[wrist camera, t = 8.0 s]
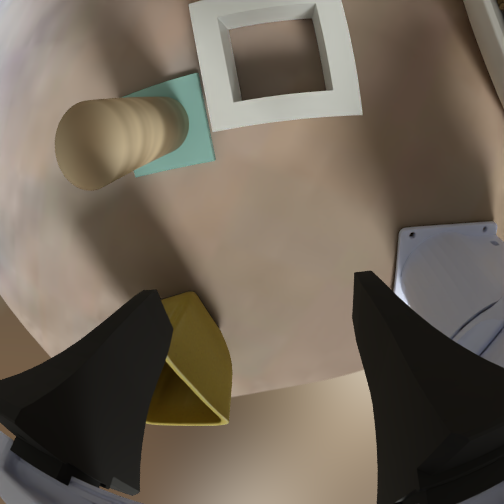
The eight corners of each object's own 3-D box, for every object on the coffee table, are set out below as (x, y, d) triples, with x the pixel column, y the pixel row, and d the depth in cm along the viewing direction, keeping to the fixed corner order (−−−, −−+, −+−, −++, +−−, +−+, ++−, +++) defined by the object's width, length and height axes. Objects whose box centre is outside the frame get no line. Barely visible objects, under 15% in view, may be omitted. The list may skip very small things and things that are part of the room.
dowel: (184, 90, 16) (114, 87, 9) (193, 148, 18) (132, 181, 11) (130, 105, 16) (48, 117, 9) (141, 159, 18) (66, 197, 11)
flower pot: (124, 290, 25) (75, 359, 17) (200, 263, 22) (157, 348, 14) (174, 354, 28) (145, 424, 21) (248, 340, 26) (231, 425, 18)
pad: (198, 73, 15) (196, 72, 15) (215, 159, 18) (214, 160, 18) (120, 98, 17) (117, 99, 16) (138, 175, 19) (135, 177, 19)
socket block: (329, -1, 12) (336, -18, 9) (351, 113, 15) (362, 115, 13) (203, 17, 13) (188, 4, 11) (224, 127, 17) (212, 132, 14)
